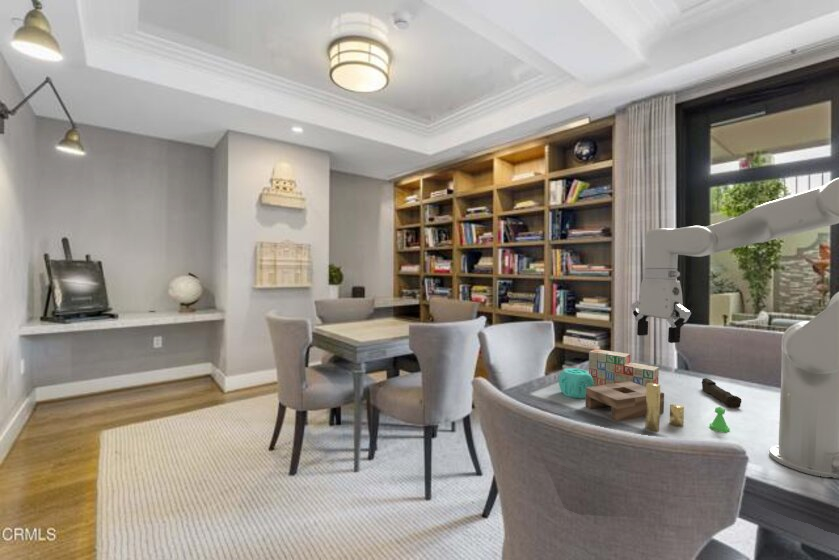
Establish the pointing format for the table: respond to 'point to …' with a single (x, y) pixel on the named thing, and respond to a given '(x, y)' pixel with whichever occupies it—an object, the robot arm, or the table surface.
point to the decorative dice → (575, 382)
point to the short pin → (676, 415)
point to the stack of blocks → (619, 369)
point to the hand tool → (721, 394)
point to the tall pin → (652, 406)
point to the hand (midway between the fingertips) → (657, 338)
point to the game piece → (719, 421)
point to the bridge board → (620, 399)
